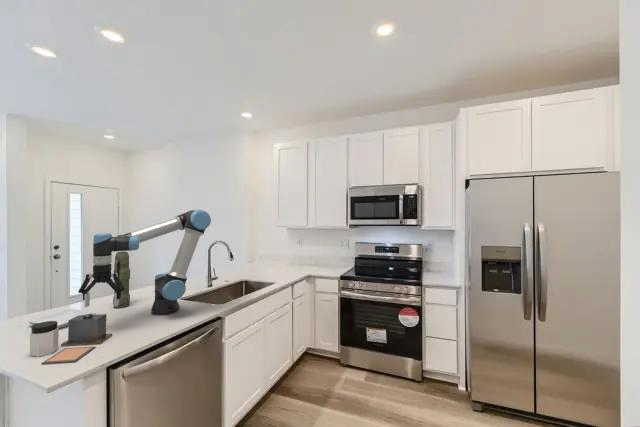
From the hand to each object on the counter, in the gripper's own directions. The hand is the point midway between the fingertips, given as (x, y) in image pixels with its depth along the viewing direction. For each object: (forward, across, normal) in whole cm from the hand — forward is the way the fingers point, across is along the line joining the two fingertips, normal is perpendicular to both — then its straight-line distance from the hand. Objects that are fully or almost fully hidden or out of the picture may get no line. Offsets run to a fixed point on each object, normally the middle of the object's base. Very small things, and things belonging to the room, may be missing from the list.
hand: (101, 306), depth 148 cm
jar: (+13, -11, -21) cm, 27 cm away
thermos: (+13, -11, +42) cm, 45 cm away
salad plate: (+13, -28, +17) cm, 35 cm away
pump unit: (+13, 0, -11) cm, 17 cm away
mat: (+13, +2, -26) cm, 29 cm away
